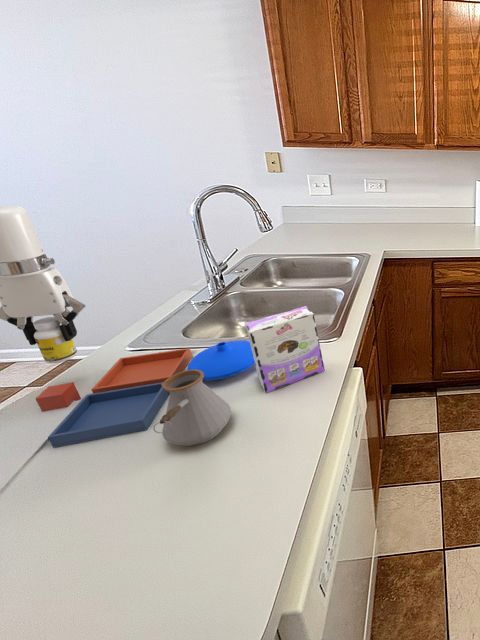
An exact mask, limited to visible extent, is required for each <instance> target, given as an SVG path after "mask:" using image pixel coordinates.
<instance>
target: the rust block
mask: <svg viewBox="0 0 480 640" xmlns="http://www.w3.org/2000/svg"><path fill="white" fill-rule="evenodd" d="M81 400H82V398H81V395H80V393H79V391H78V389H77V387H76V384H75V383H74V382H67V383H61V384H55V385H49V386H47V387H46V388H45V389H44V390H43V391H41V393H40V394H39V395H38V396H36V397H35V401H36V403H37V405H38V407H39V409H40V411H41V412H48V411H54V410H60V409H67V408H69V406H71V405H72V404H73V402H77V401H81Z"/></svg>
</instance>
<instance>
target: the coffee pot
mask: <svg viewBox="0 0 480 640" xmlns="http://www.w3.org/2000/svg"><path fill="white" fill-rule="evenodd" d="M203 377H204V373H203V372H202V371H201V370H196V369H195V370H186V369H185V370H184V371H183V372H180V373H177V374H175V375H173V376H171V377H170V378H168V379H167V380H165V381H164V382H163V383H162V384H161V386H162V387H163V388H164V389H165V390H167V391H169V392H170V393H169V398H168V402H167V408H166V412H165V414H163V415H162V416H161V418H160V420H159V422H157V423H156V424H155V425H154V426H153V431H154V433H157V434H161V435H162V437H163V439H164V440H165V441H167V442H169V443H170V444H172V445H175V446H181V447H183V446H185V447H192V446H199V445H201V444H204V443H207V442H208V441H211V440H212V439H214V438H215V437H217V436H218V435H219V434H220V433H221V431H222V430H223V429H224V428H225V427H226V425H227V424H228V423H229V420H230V419H231V415H232V407H231V406H230V405H229V404H228V402H226V401H225V400H224V399H223V398H222V397H220V396H219V395H218V394H217V393H216V392H214V390H212V389H211V388H210V387H209V386H207V384H205V383H204V382H203V380H202V379H203ZM157 425H162V431H157V430H156V429H155V428H156V426H157Z"/></svg>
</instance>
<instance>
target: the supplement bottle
mask: <svg viewBox="0 0 480 640" xmlns="http://www.w3.org/2000/svg"><path fill="white" fill-rule="evenodd" d="M33 325H34V327H35V329H36V330H37V331H36V332H35V333H34V338H35V340H36V342H37V343H36V345H37V347H38V349H39V351H40V354H41V355H42V357H43V360H44V362H45V363H47V364H57V363H58V364H60V363H64V362H67V361H69V360H71V359H73V358H75V357H77V355H78V350H77V347H76V345H75V343H74V340H73V339H71V340H70V341H65V340H64V337H63V335H62V333H61V330H60V328H59V326H60V325H61V323H60V322H59V321H58V320H57V319H56V318H55V317H54V316H47V317H43V318H40V319H37V320H35V321H33Z"/></svg>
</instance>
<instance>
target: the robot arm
mask: <svg viewBox="0 0 480 640" xmlns="http://www.w3.org/2000/svg"><path fill="white" fill-rule="evenodd" d="M55 263H56V261H55V259H54V258H53V257H47V254H45V252H44V249H43V246H42V244H41V241H40V238H39V236H38V233H37V231H36V229H35V226H34V223H33V221H32V219H31V216H30V214H29V212H28V211H27V210H26V209H25V208H24V207H22V206H20V205H19V206H18V205H0V305H1V306H0V320H2V321H4V322H5V321H6V322H7V323H9V324H11V325H13V326H15V327H16V328H17V329H18V330H20V331H21V330H22V332H23V334H24V337H25V339H26V341H28V343H29V345H30V346H35V345H37V342H36V340H35V338H34V333H35V332H36V331H37V330H36V329H35V327H34V325H33V323H34V317H43V316H52V317H55V318H56V319H57V320H58V321H59V322H60V326H59V328H60V330H61V333H62V335H63V337H64V340H65V341H70V340H71V339H72V340H73V339H75V338H76V336H77V334H78V330H77V328H76V325H75V323H74V320H75V319H76V317H78V316H79V314H80V313H81V312H82V311H83V310H84V309H85V308H86V304H85V303H83V302H81V301H79V300H77V299H76V298H75V297H74V295H73V293H72V290H71V289H70V287H69V285H68V283H67V281H66V279H65V278H64V277H63V275H62V274H61V272H60V271H59V270H58V268H56V266H51V265H55ZM68 308H72V310H71V311H70V310H69V309H68Z"/></svg>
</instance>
